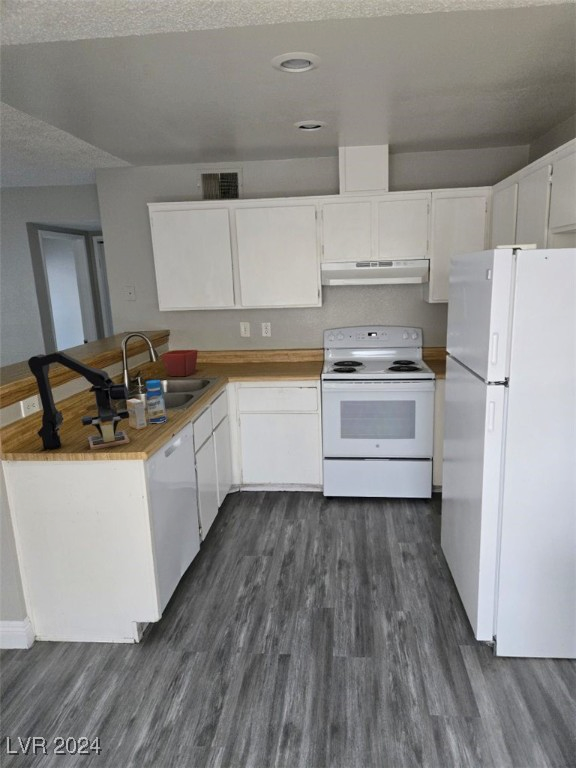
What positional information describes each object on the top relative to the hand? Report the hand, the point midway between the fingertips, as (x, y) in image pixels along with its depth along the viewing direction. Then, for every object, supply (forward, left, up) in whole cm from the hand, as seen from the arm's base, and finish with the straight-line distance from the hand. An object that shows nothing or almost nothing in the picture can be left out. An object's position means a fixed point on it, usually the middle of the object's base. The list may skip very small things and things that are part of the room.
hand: (108, 436), depth 214 cm
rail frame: (0, +4, -3) cm, 5 cm away
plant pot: (+63, +134, -3) cm, 148 cm away
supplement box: (+15, +17, -3) cm, 23 cm away
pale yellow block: (0, 0, -2) cm, 2 cm away
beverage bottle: (+25, +21, -3) cm, 33 cm away
